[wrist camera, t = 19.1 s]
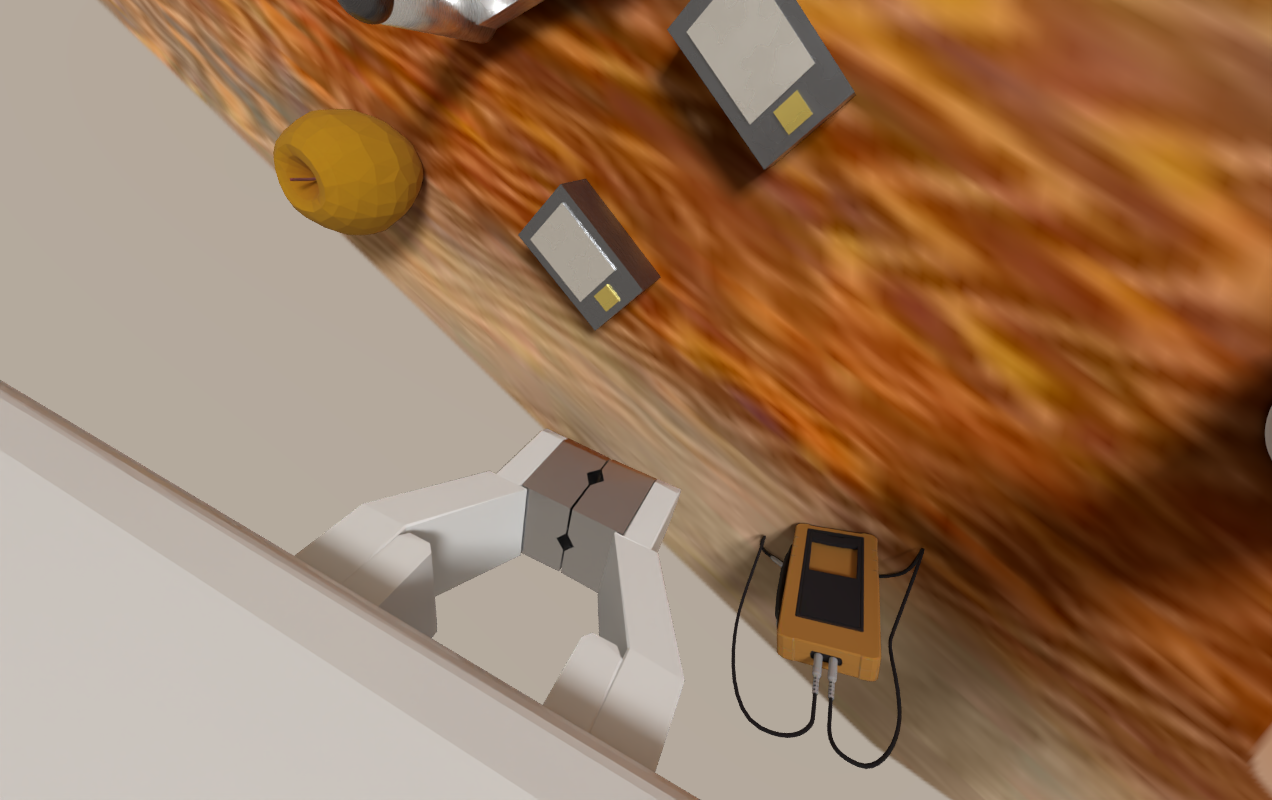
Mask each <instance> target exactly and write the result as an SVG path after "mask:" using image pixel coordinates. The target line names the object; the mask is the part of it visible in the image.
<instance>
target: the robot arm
mask: <svg viewBox="0 0 1272 800" xmlns="http://www.w3.org/2000/svg"><path fill="white" fill-rule="evenodd" d="M1265 441H1266V447H1267V450H1268V453H1269V455H1270V457H1271V459H1272V406H1271V409H1270V411H1269V414H1268V417H1267V421H1266V426H1265ZM680 493H681V490H680V489H679V488H677V487H675V486H672V485H670V484H668V483H665V482H663V481H661V480H658V479H656V478H653V477H651V476H649V475H647V474H644V473H642V472H640V471H638V470H635V469H633V468H631V467H629V466H626V465H624V464H622V463H620V462H617V461H615V460H611V459H610V458H608V457H606V456H604V455H602V454H600V453H598V452H596V451H594V450H591V449H589V448H587V447H585V446H583V445H581V444H579V443H577V442H575V441H573V440H571V439H569V438H568V439H567V438H565V437H563V436H561V435H559V434H557V433H555V432H553V431H551V430H549V429H545V430H543V431H540V432H539V433H538V434H537V435H536V436H535V437H534V438H533V439H532V440H531V441H530V442H529V443H528V444H527V445H525V446H524V447H523V448H522V449H521V450H520V451H519V452H518V453H517V454H516V455H515V456H514V457H513V458H512V459H511V460H510V461H509V462H508V463H507V464H505V466H504V467H502V468H501V469H500V470H499V472H497V473H494V472H492V471H486V472H483V473H479V474H475V475H471V476H467V477H463V478H459V479H456V480H452V481H448V482H444V483H440V484H437V485H433V486H429V487H425V488H421V489H417V490H414V491H410V492H406V493H402V494H398V495H395V496H391V497H387V498H383V499H379V500H375V501H371V502H368V503H364V504H362V505H360V506H359V507H358V508H356V509H355V510H354V511H353V512H351V513H350V514H349V515H347V516H346V517H345V518H343V519H342V520H341V521H339V522H338V523H337V524H335V525H334V526H333V527H332V528H330V529H329V530H328V531H326V532H325V533H324V534H322V535H321V536H320V537H318V538H317V539H316V540H314V541H313V542H312V543H310V544H309V545H308V546H306V547H305V548H304V549H302V550H301V551H300V552H299V553H297V554H296V555H295V556H293V555H292V554H290V553H288V552H286V551H285V550H283V549H282V548H280V547H278V546H276V545H275V544H273V543H271V542H270V541H268V540H266V539H265V538H263V537H261V536H260V535H258V534H256V533H255V532H253V531H251V530H250V529H248V528H246V527H245V526H243V525H241V524H240V523H238V522H236V521H235V520H233V519H231V518H229V517H228V516H226V515H225V514H223V513H221V512H220V511H218V510H216V509H215V508H213V507H211V506H209V505H208V504H206V503H205V502H203V501H201V500H199V499H198V498H196V497H195V496H193V495H191V494H189V493H188V492H186V491H185V490H183V489H181V488H179V487H178V486H176V485H175V484H173V483H171V482H170V481H168V480H166V479H165V478H163V477H161V476H160V475H158V474H156V473H155V472H153V471H151V470H150V469H148V468H146V467H145V466H143V465H141V464H140V463H138V462H136V461H135V460H133V459H131V458H129V457H128V456H126V455H125V454H123V453H121V452H120V451H118V450H116V449H114V448H113V447H111V446H110V445H108V444H106V443H105V442H103V441H101V440H100V439H98V438H96V437H94V436H93V435H91V434H90V433H88V432H86V431H85V430H83V429H81V428H79V427H78V426H76V425H74V424H73V423H71V422H70V421H68V420H66V419H64V418H63V417H61V416H60V415H58V414H56V413H55V412H53V411H51V410H49V409H48V408H46V407H45V406H43V405H41V404H40V403H38V402H36V401H34V400H33V399H31V398H30V397H28V396H26V395H25V394H23V393H21V392H20V391H18V390H16V389H15V388H13V387H11V386H9V385H8V384H6V383H5V382H3V381H1V380H0V800H700V799H698V798H696V797H695V796H693V795H691V794H690V793H688V792H686V791H685V790H683V789H681V788H680V787H678V786H676V785H675V784H673V783H671V782H670V781H668V780H666V779H665V778H663V777H661V776H660V775H658V774H656V773H655V771H656V768H657V765H658V762H659V758H660V756H661V753H662V749H663V746H664V743H665V740H666V737H667V734H668V731H669V728H670V725H671V722H672V719H673V715H674V712H675V709H676V706H677V703H678V700H679V697H680V694H681V691H682V688H683V684H684V675H683V670H682V666H681V661H680V656H679V651H678V646H677V641H676V636H675V632H674V626H673V622H672V617H671V612H670V608H669V602H668V598H667V593H666V588H665V583H664V578H663V573H662V568H661V564H660V559H659V554H658V550H659V548H660V545H661V543H662V541H663V538H664V536H665V533H666V531H667V528H668V526H669V523H670V520H671V518H672V515H673V512H674V510H675V507H676V504H677V502H678V499H679V496H680ZM521 553H523V554H525V555H527V556H529V557H531V558H533V559H535V560H537V561H539V562H541V563H543V564H545V565H547V566H549V567H551V568H553V569H555V570H558V571H559V570H560V569H561V568H562V570H561V573H563V574H565V575H567V576H568V577H570V578H572V579H574V580H576V581H577V582H580V583H581V584H583V585H585V586H586V587H588V588H590V589H592V590H594V591H595V592H597V593H598V616H599V636H598V635H596V634H594V633H590V634H587V635H585V636H582V637H581V639H580V641H579V642H578V644H577V646H576V648H575V649H574V651H573V653H572V655H571V656H570V658H569V660H568V662H567V663H566V665H565V667H564V669H563V670H562V672H561V674H560V676H559V677H558V679H557V681H556V683H555V684H554V686H553V688H552V690H551V692H550V693H549V695H548V697H547V699H546V700H545V702H544V704H543V705H541V704H540V703H538V702H537V701H535V700H533V699H532V698H530V697H528V696H527V695H525V694H523V693H522V692H520V691H518V690H517V689H515V688H513V687H512V686H510V685H508V684H506V683H505V682H503V681H501V680H500V679H498V678H497V677H495V676H493V675H492V674H490V673H488V672H487V671H485V670H483V669H482V668H480V667H478V666H477V665H475V664H473V663H471V662H470V661H468V660H467V659H465V658H463V657H461V656H460V655H458V654H457V653H454V652H453V651H452V650H450V649H448V648H446V647H445V646H443V645H442V644H440V643H438V642H437V641H435V640H433V639H432V637H433V636H434V634H435V633H436V632H437V619H436V606H435V596H437V595H439V594H441V593H443V592H445V591H448V590H450V589H452V588H454V587H456V586H458V585H460V584H462V583H464V582H466V581H468V580H470V579H472V578H474V577H477V576H478V575H481V574H483V573H485V572H487V571H489V570H491V569H493V568H495V567H497V566H499V565H501V564H503V563H505V562H507V561H509V560H511V559H513V558H516V557H518V556H520V554H521Z"/></svg>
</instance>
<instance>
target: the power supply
mask: <svg viewBox="0 0 1272 800" xmlns="http://www.w3.org/2000/svg"><path fill="white" fill-rule="evenodd" d="M519 237H520V238H521V239H522V240H523V242H524V243H525V244H526V245H527V247H528V248H529V249H530V250H531V252H532V253H533V254H534V255H535V257H536V258H537V259H538V260H539V262H540V263H541V264H542V265H543V266H544V268H545V269H546V270H547V271H548V273H549V274H550V275H551V276H552V278H553V279H554V280H555V281H556V283H557V284H558V285H559V286H560V288H561V289H562V290H563V291H564V293H565V294H566V295H567V296H568V298H569V299H570V300H571V301H572V303H573V304H574V305H575V306H576V307H577V309H578V310H579V311H580V312H581V314H582V315H583V316H584V317H585V319H586V320H587V321H588V322H589V324H590V325H591V326H592V327H593V329H594V330H596V329H598V328H599V327H600V326H602V325H603V324H604V323H605V322H607V321H608V320H609V319H611V318H612V317H613V316H614V315H616V314H617V313H618V312H619V311H620V310H622V309H623V308H624V307H625V306H626V305H628V304H629V303H630V302H631V301H633V300H634V299H635V298H636V297H637V296H639V295H640V294H641V293H642V292H643V291H645V290H646V289H647V288H648V287H649V286H651V285H652V284H653V283H654V282H656V281H657V280H658V279H659V278H660V275H659V274H658V273H657V272H656V270H655V269H654V268H653V266H652V265H651V264H650V262H649V261H648V260H647V258H646V257H645V256H644V254H643V253H642V252H641V251H640V249H639V248H638V247H637V245H636V244H635V243H634V241H633V240H632V239H631V237H630V236H629V235H628V233H627V232H626V231H625V230H624V228H623V227H622V226H621V224H620V223H619V222H618V220H617V219H616V218H615V216H614V215H613V214H612V212H611V211H610V210H609V209H608V207H607V206H606V205H605V203H604V202H603V201H602V199H601V198H600V197H599V195H598V194H597V193H596V191H595V190H594V189H593V188H592V186H591V185H590V184H589V182H588V181H587V180H586V179H582V180H577V181H573V182H568V183H563V184H560V186H559V187H558V188H557V189H556V190H555V192H554V193H553V194H552V195H551V196H550V198H549V199H548V200H547V201H546V202H545V204H544V205H543V206H542V207H541V208H540V210H539V211H538V212H537V213H536V214H535V216H534V217H533V218H532V219H531V220H530V222H529V223H528V224H527V225H526V226H525V228H524V229H523V230H522V231H521V232H520V234H519Z"/></svg>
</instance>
